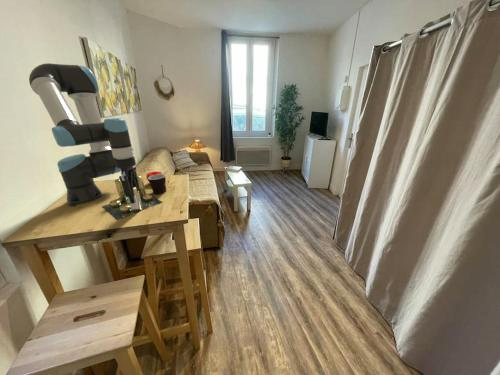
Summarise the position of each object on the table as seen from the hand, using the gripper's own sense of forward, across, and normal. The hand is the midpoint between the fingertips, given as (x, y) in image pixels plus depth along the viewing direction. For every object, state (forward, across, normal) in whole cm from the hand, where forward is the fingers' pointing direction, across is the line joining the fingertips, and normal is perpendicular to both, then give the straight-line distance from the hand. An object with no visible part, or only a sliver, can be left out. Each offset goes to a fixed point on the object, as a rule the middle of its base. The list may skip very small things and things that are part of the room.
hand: (136, 206), depth 97 cm
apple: (+3, +35, -1) cm, 35 cm away
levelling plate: (+3, +7, +4) cm, 9 cm away
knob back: (+2, +10, +11) cm, 15 cm away
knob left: (+1, +13, 0) cm, 13 cm away
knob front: (+2, 0, +3) cm, 3 cm away
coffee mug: (+3, +21, -6) cm, 22 cm away
